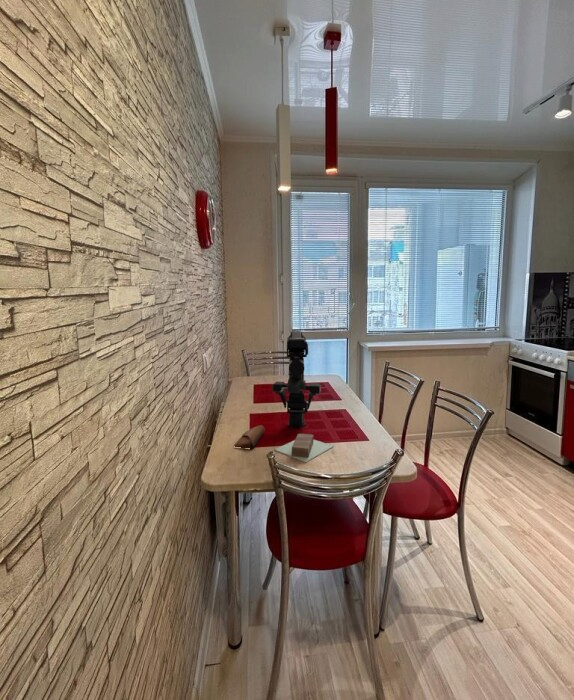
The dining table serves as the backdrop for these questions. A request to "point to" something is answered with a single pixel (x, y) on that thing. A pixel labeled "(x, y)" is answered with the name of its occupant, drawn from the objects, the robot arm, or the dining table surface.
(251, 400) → the dining table surface
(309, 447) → the brown wooden block
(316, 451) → the mat
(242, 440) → the sunglasses case
